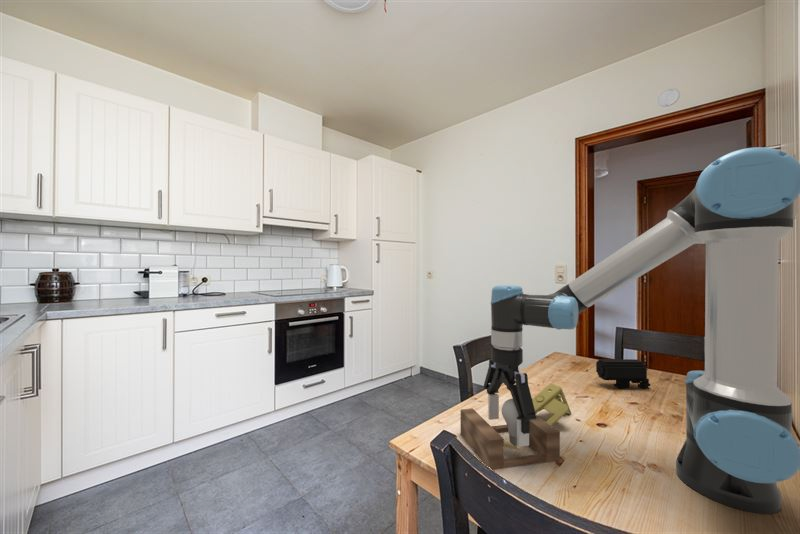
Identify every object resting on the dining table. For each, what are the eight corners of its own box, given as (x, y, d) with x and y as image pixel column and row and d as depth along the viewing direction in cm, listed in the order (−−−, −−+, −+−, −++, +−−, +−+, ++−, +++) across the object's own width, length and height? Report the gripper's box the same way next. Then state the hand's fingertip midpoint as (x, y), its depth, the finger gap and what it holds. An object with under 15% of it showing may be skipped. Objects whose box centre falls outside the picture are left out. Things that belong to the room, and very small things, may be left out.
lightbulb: (526, 455, 73) (525, 407, 73) (499, 447, 76) (498, 401, 76) (531, 442, 78) (530, 397, 78) (505, 436, 81) (505, 392, 81)
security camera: (655, 390, 119) (655, 363, 119) (605, 389, 119) (605, 363, 119) (641, 383, 126) (641, 358, 126) (594, 383, 126) (594, 358, 126)
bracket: (590, 423, 93) (580, 396, 91) (556, 455, 88) (544, 427, 86) (560, 407, 103) (550, 382, 100) (529, 435, 98) (517, 409, 96)
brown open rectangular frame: (559, 461, 75) (559, 431, 75) (489, 472, 71) (489, 440, 71) (519, 428, 90) (519, 403, 90) (460, 435, 86) (460, 409, 86)
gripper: (553, 359, 69) (553, 457, 69) (495, 335, 94) (495, 408, 93) (522, 361, 68) (523, 461, 67) (471, 337, 92) (471, 411, 92)
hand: (507, 431), depth 80 cm, fingers open, 13 cm apart
